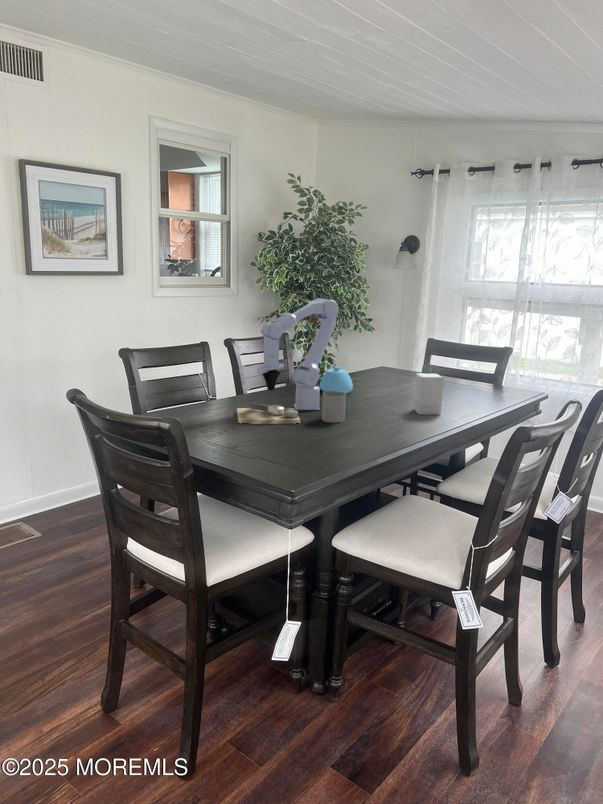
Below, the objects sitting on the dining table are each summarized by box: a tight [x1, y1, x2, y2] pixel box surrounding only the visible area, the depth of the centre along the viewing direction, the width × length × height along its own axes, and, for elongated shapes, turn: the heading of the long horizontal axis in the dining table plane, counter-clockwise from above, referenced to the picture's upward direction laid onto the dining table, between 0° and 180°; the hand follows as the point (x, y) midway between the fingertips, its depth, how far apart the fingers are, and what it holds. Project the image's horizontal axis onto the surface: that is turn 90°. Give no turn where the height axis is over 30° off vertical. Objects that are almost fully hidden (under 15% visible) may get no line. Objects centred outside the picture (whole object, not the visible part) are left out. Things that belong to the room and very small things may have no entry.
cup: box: [321, 391, 347, 424], centre depth 220 cm, size 8×8×10 cm
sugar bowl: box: [319, 366, 354, 395], centre depth 271 cm, size 15×15×12 cm
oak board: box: [236, 407, 301, 425], centre depth 222 cm, size 22×18×4 cm
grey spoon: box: [250, 402, 285, 415], centre depth 223 cm, size 14×6×2 cm, turn 58°
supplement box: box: [413, 372, 445, 416], centre depth 236 cm, size 9×9×15 cm
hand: (270, 390), depth 229 cm, fingers closed
